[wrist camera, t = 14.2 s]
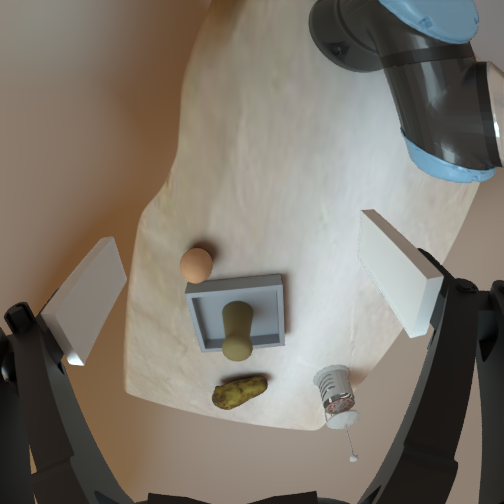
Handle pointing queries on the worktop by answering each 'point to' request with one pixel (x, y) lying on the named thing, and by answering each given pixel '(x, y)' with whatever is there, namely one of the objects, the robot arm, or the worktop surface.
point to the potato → (238, 392)
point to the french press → (337, 398)
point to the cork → (237, 330)
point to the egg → (196, 265)
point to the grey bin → (238, 289)
